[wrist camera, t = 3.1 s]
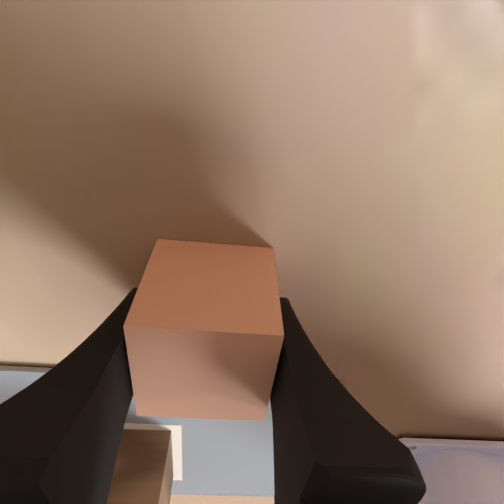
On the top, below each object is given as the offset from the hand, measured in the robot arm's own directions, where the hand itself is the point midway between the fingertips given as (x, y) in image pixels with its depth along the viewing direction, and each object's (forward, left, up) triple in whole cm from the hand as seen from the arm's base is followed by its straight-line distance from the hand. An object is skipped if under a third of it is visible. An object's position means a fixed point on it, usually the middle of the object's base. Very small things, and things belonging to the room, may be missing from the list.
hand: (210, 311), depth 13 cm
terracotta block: (0, 0, -2) cm, 2 cm away
